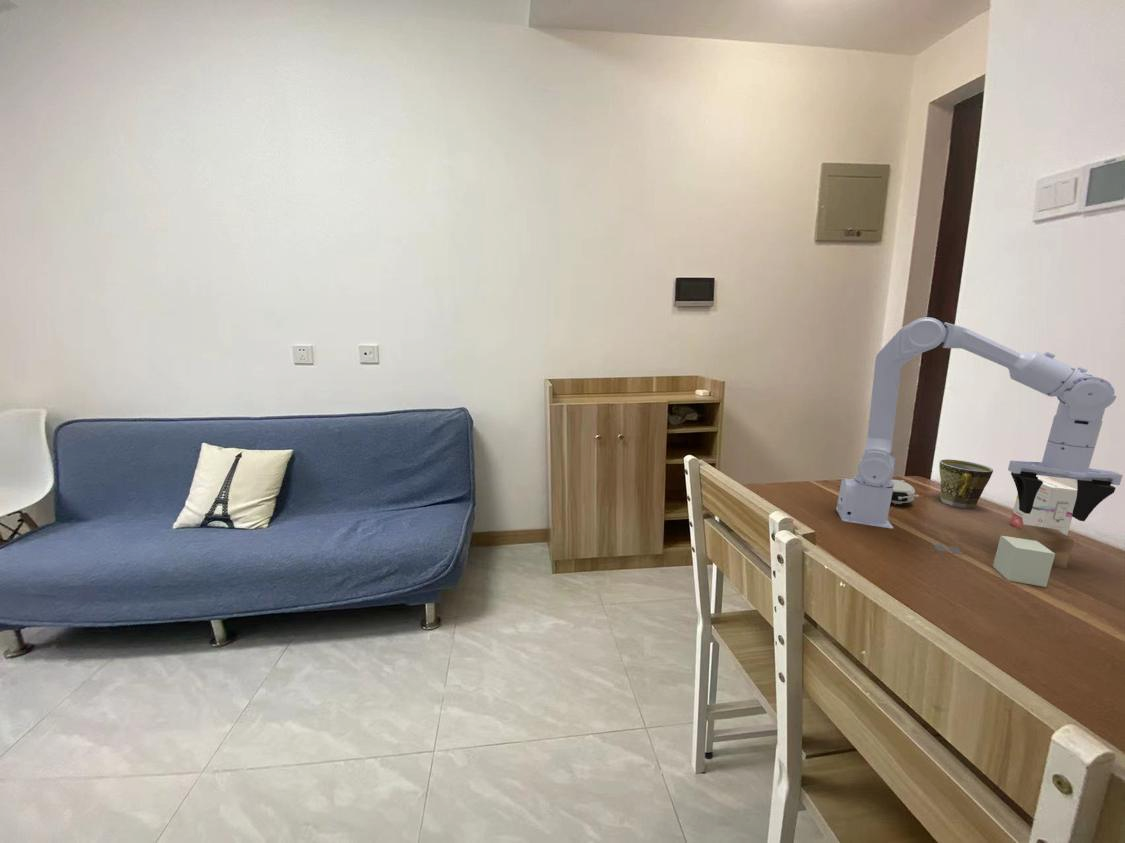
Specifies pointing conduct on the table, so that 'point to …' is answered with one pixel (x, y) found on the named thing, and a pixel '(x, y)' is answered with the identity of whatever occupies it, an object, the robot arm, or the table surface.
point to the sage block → (1023, 561)
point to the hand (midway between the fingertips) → (1050, 515)
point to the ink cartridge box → (1049, 505)
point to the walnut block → (1050, 542)
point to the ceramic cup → (962, 482)
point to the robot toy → (902, 492)
